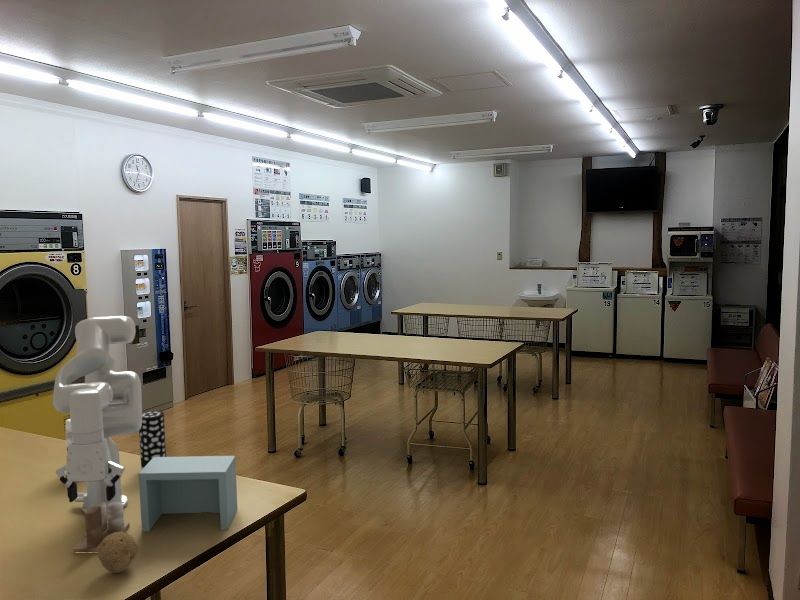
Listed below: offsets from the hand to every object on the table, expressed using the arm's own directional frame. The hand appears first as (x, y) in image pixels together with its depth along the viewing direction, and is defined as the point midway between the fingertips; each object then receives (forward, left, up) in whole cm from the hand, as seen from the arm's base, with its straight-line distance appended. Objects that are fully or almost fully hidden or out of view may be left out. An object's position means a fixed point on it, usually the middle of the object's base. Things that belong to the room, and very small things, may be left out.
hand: (92, 499), depth 165 cm
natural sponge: (+11, -11, -14) cm, 21 cm away
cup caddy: (0, +5, -14) cm, 15 cm away
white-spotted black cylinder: (-3, +53, -14) cm, 55 cm away
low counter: (+21, +15, -14) cm, 29 cm away
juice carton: (-27, +52, -14) cm, 60 cm away
